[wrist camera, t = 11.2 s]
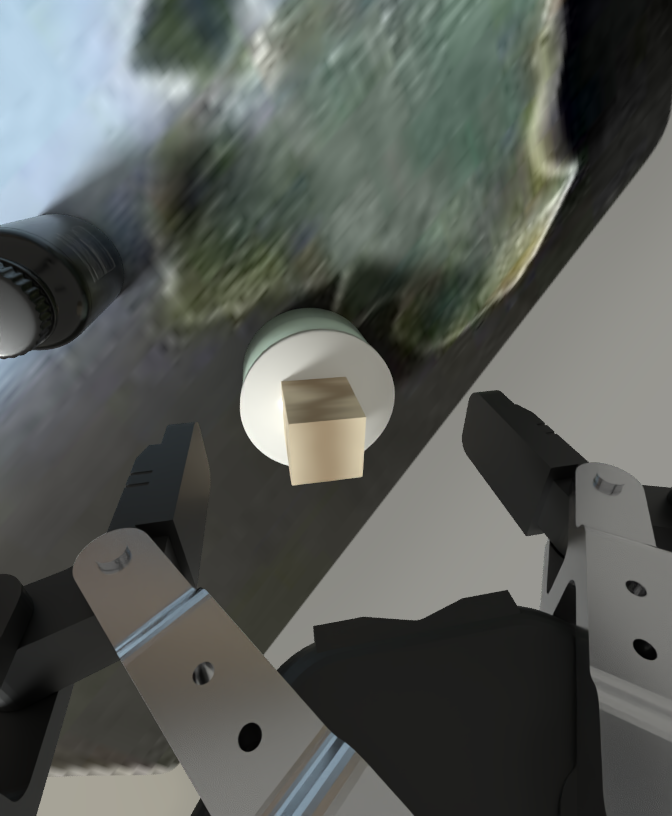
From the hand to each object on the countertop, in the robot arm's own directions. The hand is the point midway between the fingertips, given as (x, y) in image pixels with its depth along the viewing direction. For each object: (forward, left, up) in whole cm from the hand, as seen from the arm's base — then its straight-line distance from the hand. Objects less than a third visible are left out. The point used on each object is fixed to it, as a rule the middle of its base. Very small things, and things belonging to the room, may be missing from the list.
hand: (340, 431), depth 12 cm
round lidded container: (-2, +9, -24) cm, 26 cm away
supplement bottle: (+15, -1, -24) cm, 29 cm away
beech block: (-2, +9, -17) cm, 20 cm away
